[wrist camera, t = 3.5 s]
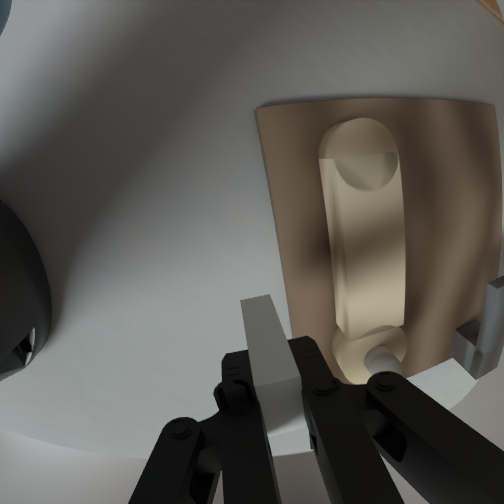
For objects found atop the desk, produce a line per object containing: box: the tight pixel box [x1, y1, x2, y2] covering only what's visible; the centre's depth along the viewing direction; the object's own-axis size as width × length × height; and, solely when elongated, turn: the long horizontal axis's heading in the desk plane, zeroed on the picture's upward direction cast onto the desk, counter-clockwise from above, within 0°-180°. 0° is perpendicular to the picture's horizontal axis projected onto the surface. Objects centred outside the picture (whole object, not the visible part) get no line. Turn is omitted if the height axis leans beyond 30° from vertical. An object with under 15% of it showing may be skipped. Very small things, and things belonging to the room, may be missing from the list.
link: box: [318, 118, 407, 384], centre depth 17 cm, size 18×5×4 cm, turn 10°
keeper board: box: [254, 98, 504, 385], centre depth 19 cm, size 20×23×5 cm
